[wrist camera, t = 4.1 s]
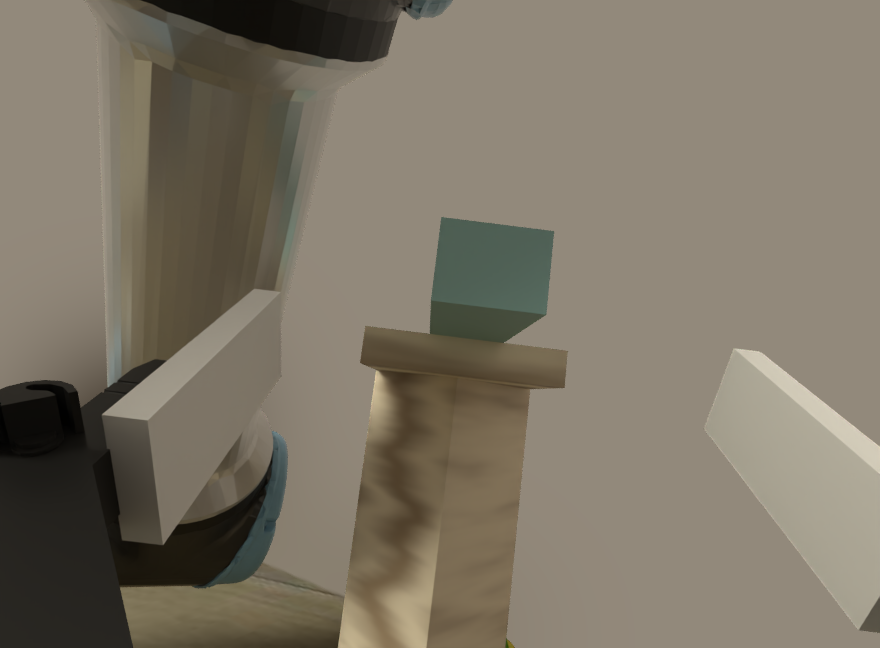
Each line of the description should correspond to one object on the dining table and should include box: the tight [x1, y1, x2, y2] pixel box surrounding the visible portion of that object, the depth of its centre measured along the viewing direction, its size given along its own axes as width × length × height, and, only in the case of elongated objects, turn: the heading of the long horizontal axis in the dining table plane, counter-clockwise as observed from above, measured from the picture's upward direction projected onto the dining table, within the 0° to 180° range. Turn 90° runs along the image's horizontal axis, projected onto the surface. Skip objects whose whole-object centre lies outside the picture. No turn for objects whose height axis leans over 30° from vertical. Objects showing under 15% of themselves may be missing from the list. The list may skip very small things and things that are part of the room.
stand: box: [338, 326, 568, 648], centre depth 34 cm, size 11×18×30 cm, turn 1°
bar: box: [430, 217, 554, 343], centre depth 31 cm, size 26×4×3 cm, turn 1°
